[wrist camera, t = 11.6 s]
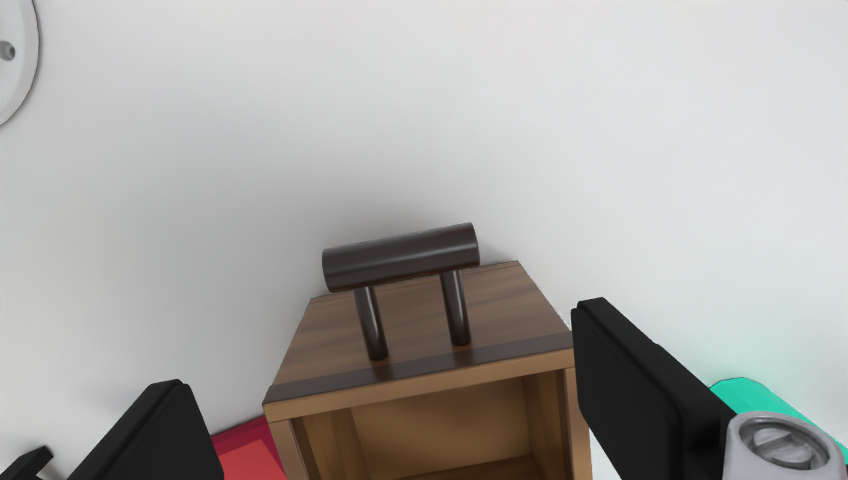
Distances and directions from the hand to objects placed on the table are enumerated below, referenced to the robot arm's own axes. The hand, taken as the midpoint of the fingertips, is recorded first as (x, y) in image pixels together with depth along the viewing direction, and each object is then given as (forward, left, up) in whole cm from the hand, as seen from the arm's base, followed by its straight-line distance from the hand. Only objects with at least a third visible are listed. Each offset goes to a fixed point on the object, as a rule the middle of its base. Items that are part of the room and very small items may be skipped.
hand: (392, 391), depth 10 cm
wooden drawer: (+8, 0, -15) cm, 17 cm away
